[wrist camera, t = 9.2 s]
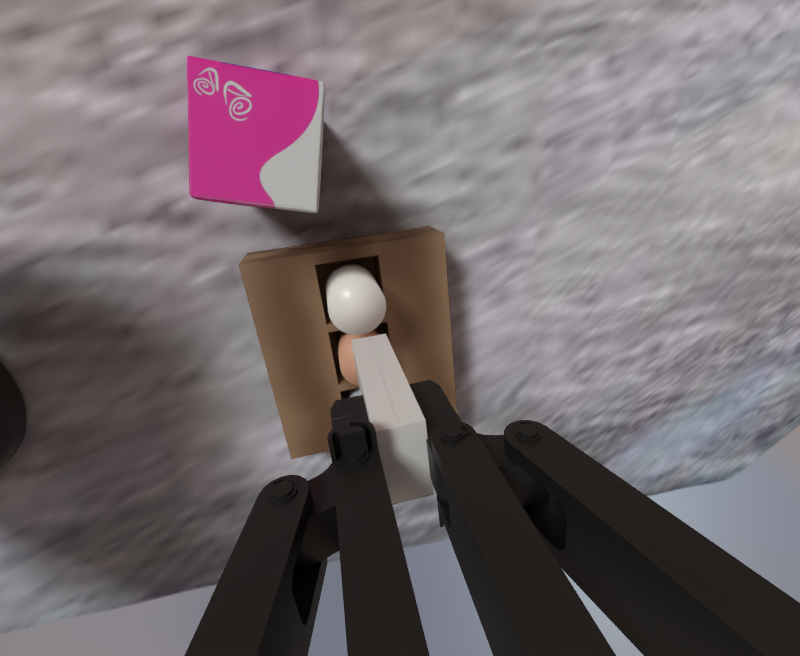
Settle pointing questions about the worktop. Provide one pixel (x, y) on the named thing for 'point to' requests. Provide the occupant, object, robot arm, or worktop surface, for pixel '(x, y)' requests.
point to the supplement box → (254, 136)
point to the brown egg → (349, 354)
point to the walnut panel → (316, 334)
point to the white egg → (354, 299)
